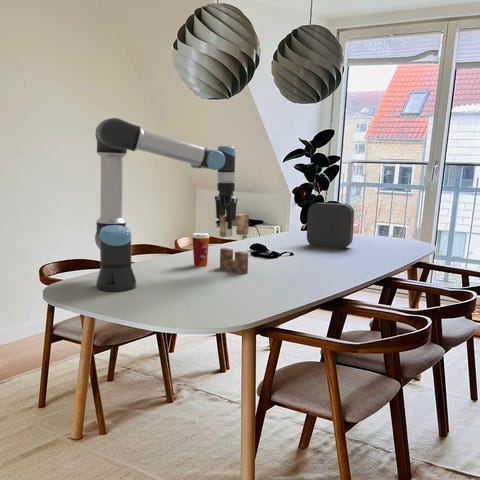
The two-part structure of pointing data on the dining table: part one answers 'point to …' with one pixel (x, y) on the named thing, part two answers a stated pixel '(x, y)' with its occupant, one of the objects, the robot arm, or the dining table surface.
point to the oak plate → (235, 224)
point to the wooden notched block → (234, 261)
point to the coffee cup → (200, 249)
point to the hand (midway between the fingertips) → (225, 235)
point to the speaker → (330, 225)
